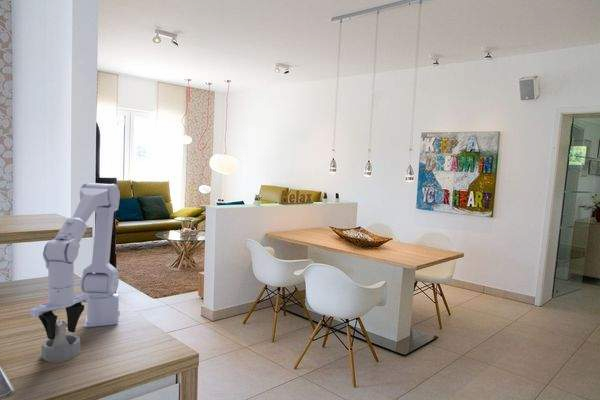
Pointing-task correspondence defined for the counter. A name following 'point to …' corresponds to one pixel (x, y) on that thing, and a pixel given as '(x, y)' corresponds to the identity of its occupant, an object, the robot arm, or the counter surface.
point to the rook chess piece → (60, 335)
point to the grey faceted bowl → (61, 349)
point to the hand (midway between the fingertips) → (61, 334)
